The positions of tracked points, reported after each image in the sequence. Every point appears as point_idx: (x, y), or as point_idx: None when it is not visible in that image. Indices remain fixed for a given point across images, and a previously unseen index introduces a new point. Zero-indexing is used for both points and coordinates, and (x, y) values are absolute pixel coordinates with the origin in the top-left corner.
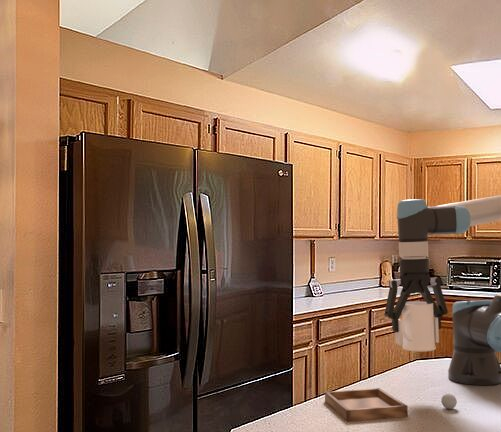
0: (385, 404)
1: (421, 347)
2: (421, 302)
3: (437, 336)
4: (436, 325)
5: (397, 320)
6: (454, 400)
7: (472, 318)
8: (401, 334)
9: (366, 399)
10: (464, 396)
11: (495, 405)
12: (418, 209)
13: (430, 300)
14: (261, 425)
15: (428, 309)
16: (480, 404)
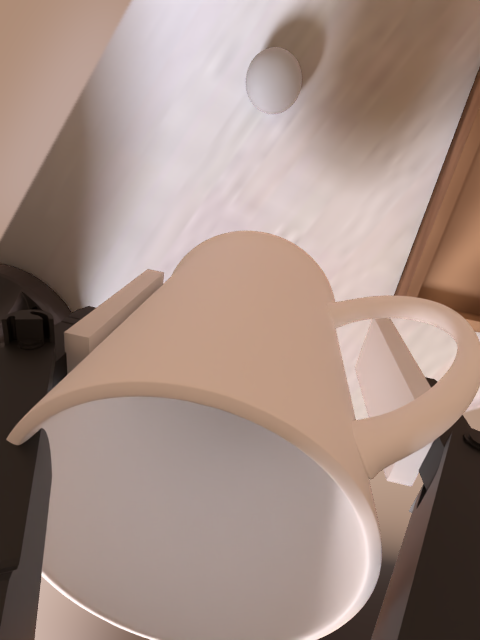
0: (468, 197)
1: (288, 249)
2: (72, 579)
3: (142, 281)
4: (113, 309)
5: (444, 432)
6: (268, 49)
7: None
8: (396, 347)
9: (476, 279)
10: (140, 198)
11: (106, 54)
12: None
13: (9, 481)
14: None
15: (155, 343)
16: (145, 89)
